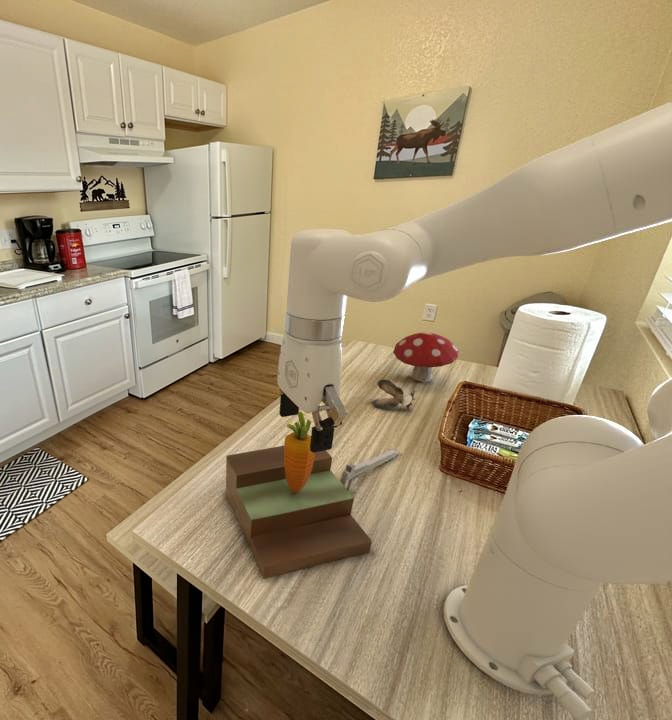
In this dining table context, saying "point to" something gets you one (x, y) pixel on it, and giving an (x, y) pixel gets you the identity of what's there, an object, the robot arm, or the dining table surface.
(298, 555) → the brown stepped stand
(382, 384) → the grey brown forked piece
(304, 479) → the carrot
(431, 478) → the dining table surface
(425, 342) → the decorative mushroom
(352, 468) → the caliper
